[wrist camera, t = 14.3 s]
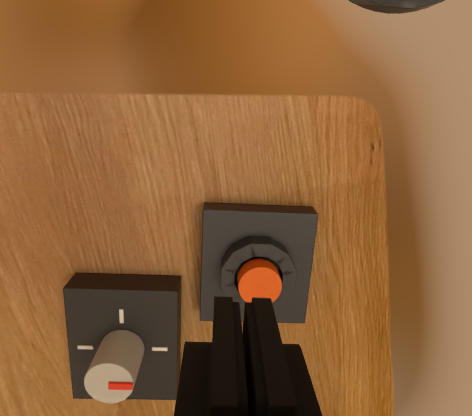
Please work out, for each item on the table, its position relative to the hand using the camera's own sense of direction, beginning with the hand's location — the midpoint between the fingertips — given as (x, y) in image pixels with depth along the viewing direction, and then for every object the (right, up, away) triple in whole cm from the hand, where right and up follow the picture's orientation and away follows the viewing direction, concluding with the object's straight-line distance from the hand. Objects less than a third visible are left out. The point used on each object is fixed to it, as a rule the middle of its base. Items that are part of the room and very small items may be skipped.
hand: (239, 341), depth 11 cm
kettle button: (+2, -2, +21) cm, 21 cm away
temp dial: (-11, -9, +23) cm, 27 cm away
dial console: (-11, -8, +26) cm, 30 cm away
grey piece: (+2, -1, +25) cm, 25 cm away
